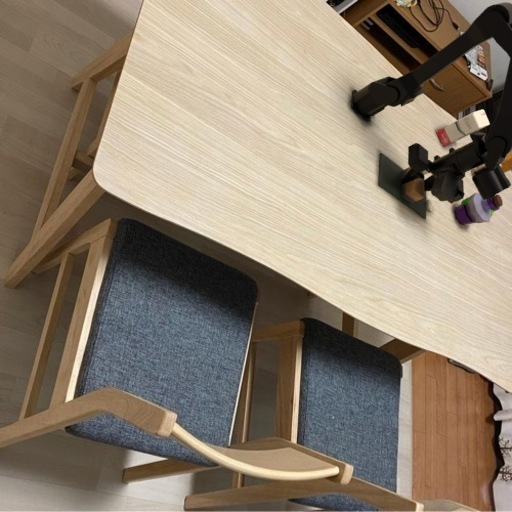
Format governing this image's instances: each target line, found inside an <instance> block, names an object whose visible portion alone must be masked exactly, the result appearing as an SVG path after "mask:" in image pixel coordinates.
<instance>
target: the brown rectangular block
mask: <svg viewBox="0 0 512 512" xmlns="http://www.w3.org/2000/svg"><path fill="white" fill-rule="evenodd" d="M410 169H411V167H410V166H409V167H406V168H405V169H403V171H402V175H401V197H403V198H404V199H405V200H407V201H408V202H409V203H414V202H416V201H418V200H420V199H423V198H424V180H425V179H424V180H423V179H421V178H417V179H415V180H413V181H410V182H408V183H405V184H402V179H403V178H404V177H405V175H406V174H407V173H408V171H409V170H410Z"/></svg>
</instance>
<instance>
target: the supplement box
mask: <svg viewBox="0 0 512 512" xmlns="http://www.w3.org/2000/svg"><path fill="white" fill-rule="evenodd" d="M501 168H502V170H503V172H504V173H505V174H506V173H508V172H510V171H512V157H511V158H509V159H505V160H504V161H503V162H502V163H501Z"/></svg>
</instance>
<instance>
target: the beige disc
mask: <svg viewBox="0 0 512 512" xmlns="http://www.w3.org/2000/svg"><path fill="white" fill-rule="evenodd" d="M426 210H427V211H428V212H433V210H434V205H433V202H432V200H431V199H426Z"/></svg>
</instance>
